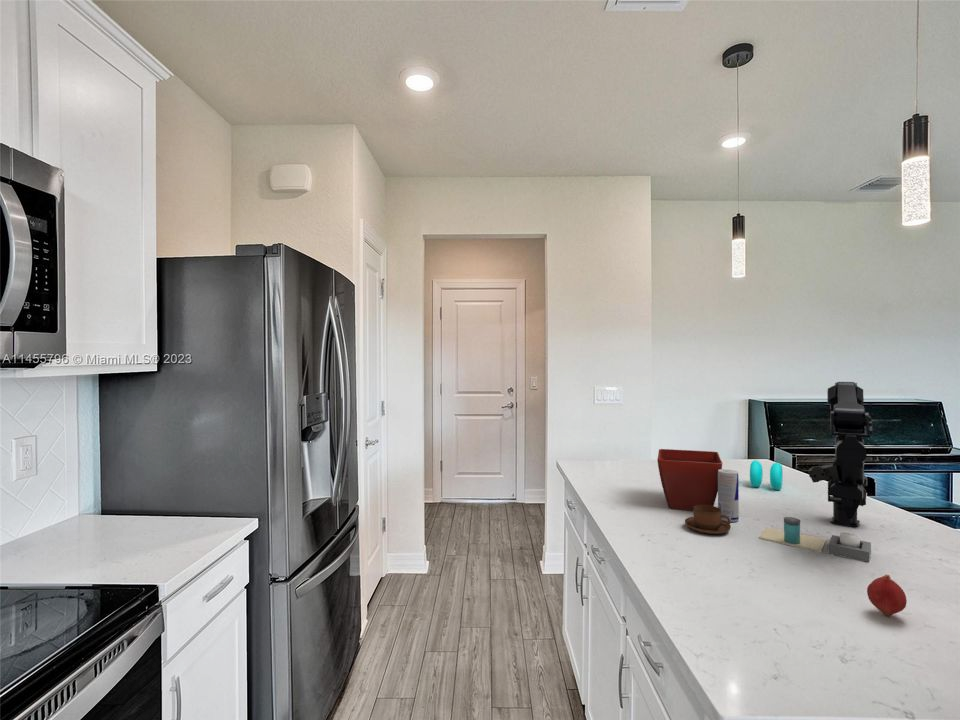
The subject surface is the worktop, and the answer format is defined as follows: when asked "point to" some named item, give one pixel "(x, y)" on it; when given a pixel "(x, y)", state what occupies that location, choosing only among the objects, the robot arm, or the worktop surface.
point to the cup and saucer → (708, 520)
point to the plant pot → (689, 477)
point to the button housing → (849, 549)
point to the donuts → (757, 475)
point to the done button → (850, 540)
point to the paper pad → (805, 542)
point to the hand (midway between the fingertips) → (849, 518)
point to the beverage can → (728, 494)
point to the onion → (886, 595)
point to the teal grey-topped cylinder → (792, 530)
